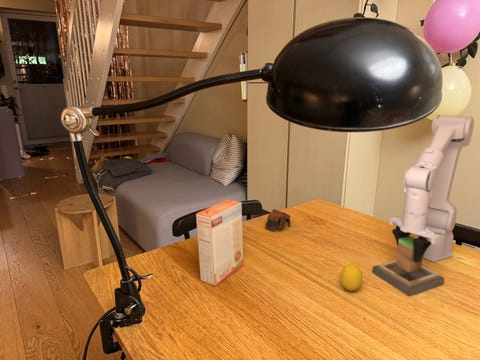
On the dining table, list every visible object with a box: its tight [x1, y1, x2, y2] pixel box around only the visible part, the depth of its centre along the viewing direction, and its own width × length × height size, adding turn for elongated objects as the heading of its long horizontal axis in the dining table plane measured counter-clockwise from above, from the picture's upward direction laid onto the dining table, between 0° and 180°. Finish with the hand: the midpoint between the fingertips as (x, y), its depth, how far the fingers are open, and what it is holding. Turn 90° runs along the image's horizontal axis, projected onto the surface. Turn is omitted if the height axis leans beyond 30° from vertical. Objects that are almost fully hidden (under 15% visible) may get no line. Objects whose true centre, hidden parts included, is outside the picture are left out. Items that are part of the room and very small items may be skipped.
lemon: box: [339, 263, 363, 292], centre depth 91 cm, size 6×6×8 cm
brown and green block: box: [395, 235, 423, 272], centre depth 96 cm, size 4×4×8 cm
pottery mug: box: [264, 208, 291, 233], centre depth 132 cm, size 12×10×8 cm
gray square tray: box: [371, 259, 445, 297], centre depth 97 cm, size 13×13×3 cm
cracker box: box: [195, 198, 244, 287], centre depth 99 cm, size 14×6×21 cm, turn 145°
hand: (409, 257), depth 96 cm, fingers closed on brown and green block, 4 cm apart
